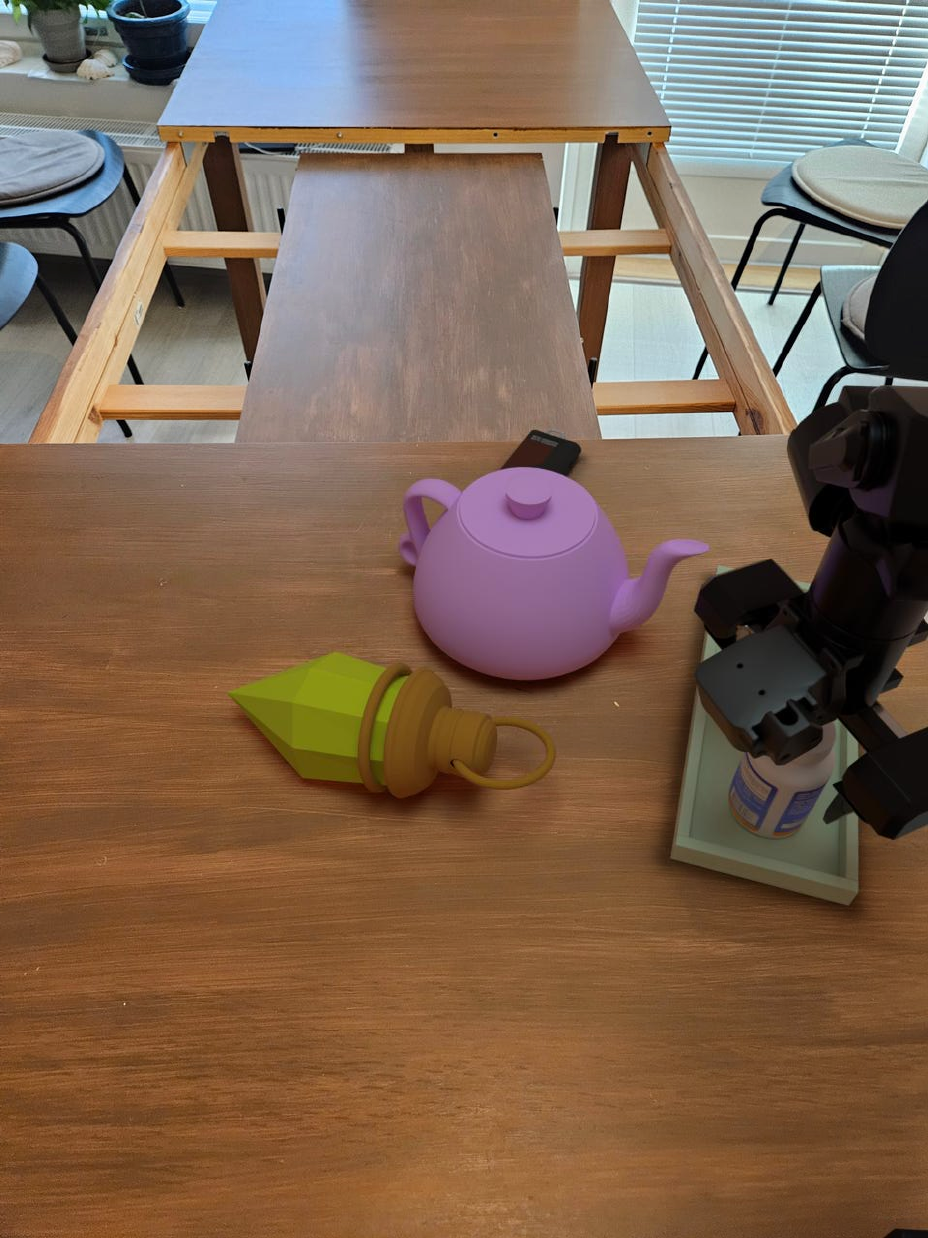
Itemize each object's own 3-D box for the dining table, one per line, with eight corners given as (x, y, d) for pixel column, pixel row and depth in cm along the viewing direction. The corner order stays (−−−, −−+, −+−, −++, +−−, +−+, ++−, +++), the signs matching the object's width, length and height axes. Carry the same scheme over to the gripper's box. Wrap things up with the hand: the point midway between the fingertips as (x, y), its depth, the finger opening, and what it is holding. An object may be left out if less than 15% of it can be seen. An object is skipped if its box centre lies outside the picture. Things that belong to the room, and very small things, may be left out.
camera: (590, 442, 87) (541, 509, 81) (585, 464, 89) (537, 530, 83) (532, 419, 89) (480, 483, 82) (528, 441, 91) (477, 505, 85)
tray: (848, 906, 58) (858, 892, 57) (670, 858, 60) (675, 844, 59) (850, 609, 76) (858, 593, 74) (712, 580, 78) (717, 564, 76)
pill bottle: (805, 783, 64) (850, 701, 56) (804, 850, 60) (851, 771, 53) (728, 765, 65) (762, 682, 57) (722, 830, 61) (758, 750, 54)
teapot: (349, 639, 73) (332, 512, 63) (445, 511, 84) (444, 385, 74) (640, 751, 66) (674, 628, 56) (705, 596, 77) (743, 469, 67)
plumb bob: (203, 779, 65) (534, 860, 57) (176, 678, 60) (536, 753, 52) (266, 704, 72) (569, 768, 64) (248, 609, 67) (573, 666, 59)
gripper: (642, 530, 51) (608, 697, 62) (863, 793, 39) (770, 937, 51) (802, 482, 54) (740, 649, 65) (1050, 713, 42) (922, 866, 54)
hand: (785, 762), depth 59 cm, fingers open, 9 cm apart
